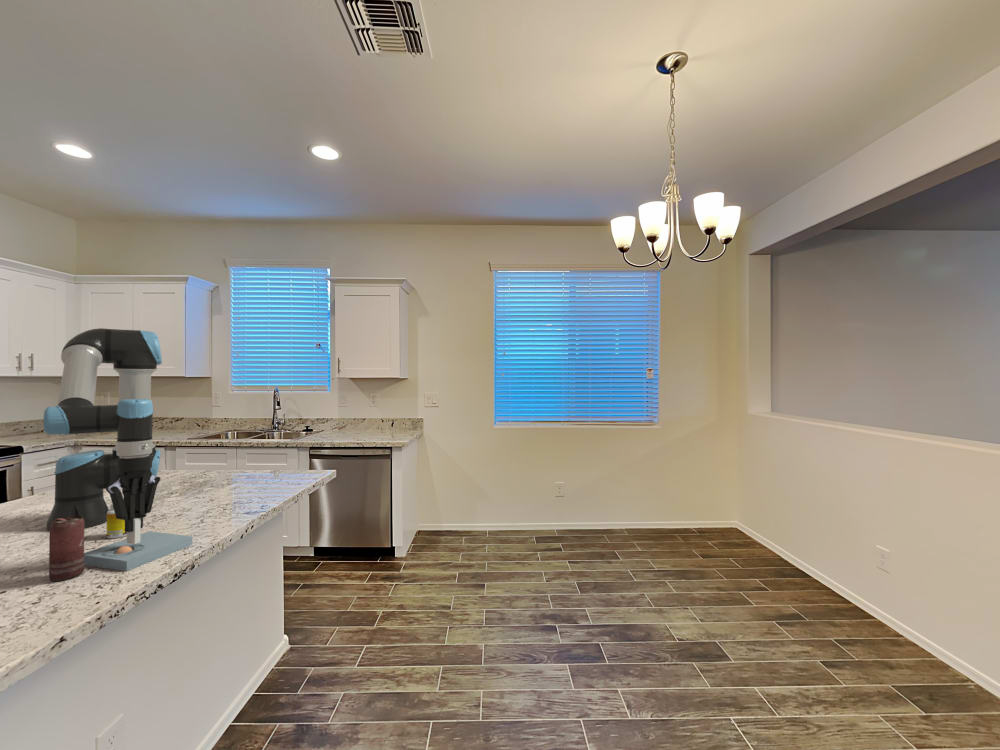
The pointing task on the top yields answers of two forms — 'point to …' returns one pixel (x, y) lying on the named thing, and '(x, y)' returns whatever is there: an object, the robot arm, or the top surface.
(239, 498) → the top surface
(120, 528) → the supplement bottle
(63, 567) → the can
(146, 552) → the board
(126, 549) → the ball
